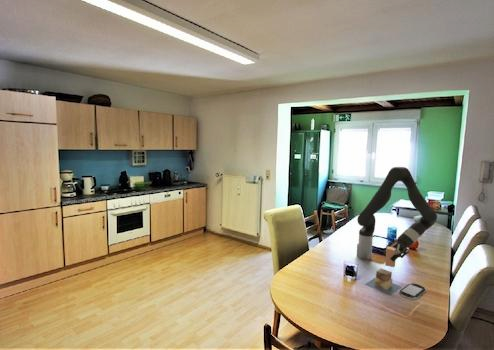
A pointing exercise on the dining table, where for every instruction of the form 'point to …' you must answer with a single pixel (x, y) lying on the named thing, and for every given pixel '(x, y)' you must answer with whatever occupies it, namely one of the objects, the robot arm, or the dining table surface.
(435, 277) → the dining table surface
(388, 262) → the terracotta pillar
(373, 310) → the dining table surface
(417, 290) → the gaming console
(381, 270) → the tower top
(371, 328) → the dining table surface
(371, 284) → the slate mat
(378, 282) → the tower base
